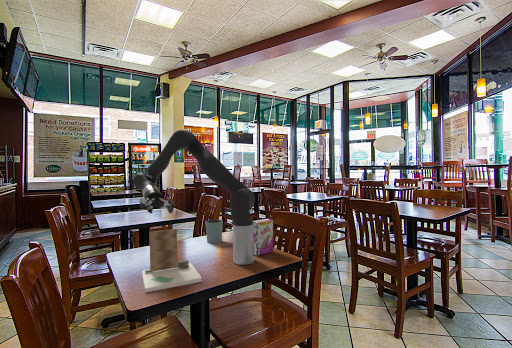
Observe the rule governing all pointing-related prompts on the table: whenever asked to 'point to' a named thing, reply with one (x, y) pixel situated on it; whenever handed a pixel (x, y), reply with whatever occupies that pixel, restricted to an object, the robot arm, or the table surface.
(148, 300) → the table surface
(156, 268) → the brown flat streaked slab
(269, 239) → the candy bar box
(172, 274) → the plate
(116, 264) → the table surface
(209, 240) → the grey-blue bumpy cylinder
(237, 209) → the robot arm
